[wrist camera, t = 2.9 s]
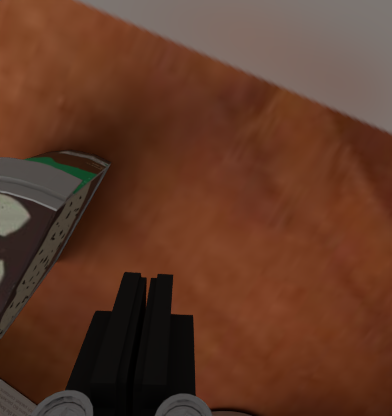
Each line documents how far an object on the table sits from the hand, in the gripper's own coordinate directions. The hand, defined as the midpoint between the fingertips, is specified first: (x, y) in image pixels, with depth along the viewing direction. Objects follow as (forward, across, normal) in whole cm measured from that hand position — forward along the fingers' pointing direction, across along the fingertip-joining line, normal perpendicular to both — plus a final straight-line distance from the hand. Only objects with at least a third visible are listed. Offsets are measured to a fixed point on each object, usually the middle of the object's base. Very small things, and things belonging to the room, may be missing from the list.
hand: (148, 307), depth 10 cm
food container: (+12, +9, +1) cm, 15 cm away
